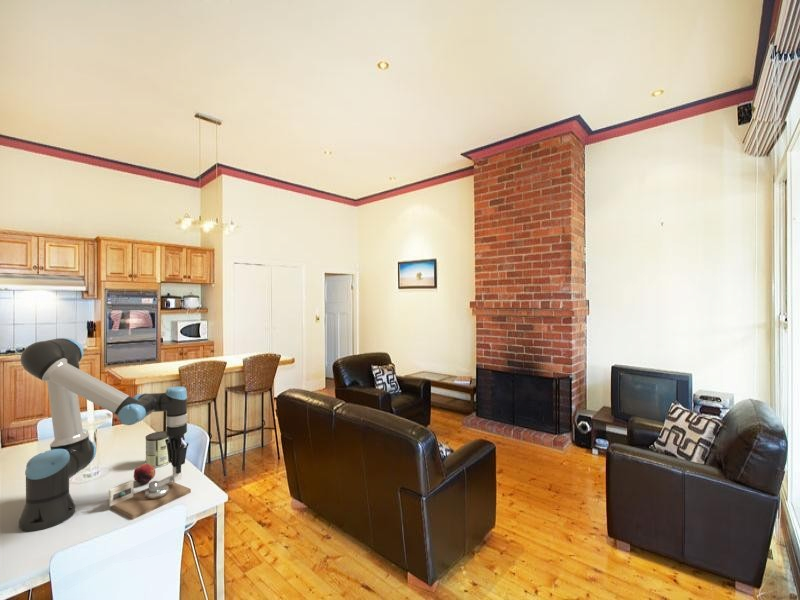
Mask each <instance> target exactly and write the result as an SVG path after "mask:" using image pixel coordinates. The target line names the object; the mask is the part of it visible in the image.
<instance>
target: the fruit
mask: <svg viewBox="0 0 800 600" xmlns="http://www.w3.org/2000/svg"><path fill="white" fill-rule="evenodd" d="M155 476H156V468H154V467H153V466H151V465H150V464H146V463H143V464H141V465H139V466H137V467H136V468H135V469H134V471H133V478H134V482H136V483H138V484H140V485H145V484H147V483H150V482H151V480H153V479H154V478H155Z"/></svg>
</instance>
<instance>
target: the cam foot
mask: <svg viewBox="0 0 800 600" xmlns="http://www.w3.org/2000/svg"><path fill="white" fill-rule="evenodd" d="M181 476H182V473H181ZM171 481H172V482H173V474H171V475H169V476H167V477H164V478H163V479H160V480H159V481H158V480H154V481H149V482H148V488H149V489H147V488H146V489H147V490H146V492H145V498H146V499H157V498H161V497H163V496H165V495H167V494H168V492H169V486H167V485H164V484H166V483H169V482H171Z"/></svg>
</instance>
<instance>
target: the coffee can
mask: <svg viewBox="0 0 800 600" xmlns="http://www.w3.org/2000/svg"><path fill="white" fill-rule="evenodd" d="M168 438H169V436H167V435H166V430H165V431H164V430H163V431H161V430H160V431H155V432H151V433H149V434H147V435H146V436H145V464H150V465H151V466H153V467H154V469H156V468H161V467H164V466H167V465H168V464H170V463H169V458H168V451H167V445H166V442H165V440H166V439H168Z"/></svg>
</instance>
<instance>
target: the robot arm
mask: <svg viewBox="0 0 800 600" xmlns="http://www.w3.org/2000/svg"><path fill="white" fill-rule="evenodd" d="M84 354H85V353H84V349H83V346H82V345H81V344H80V343H79V341H76V340H75V339H72V338H68V337H64V338H63V337H62V338H58V337H57V338H54V339H53V338H52V339H48V340H42V341H36V342H34V343H30V344H29V345H28V346H27V347H25V348H24V350H22V353H21V355H20V364H21V366H22V367H23V369H24V370H25V372H27V373H28V374H30V375H31V376H33V377H35V378H37V379H39V380H40V381H42V382H45V383H46V385H47V390H48V391H47V392H48V400H49V407H50V414H51V421H52V422H51V423H52V428H53V429H52V430H53V436H54V439H53V441H52V442H51V443H49V444H50V445H49V447H50V449H49V450H45V451H44V452H40V453H38V454H36V455H34V456H32V457H31V458H30V459H29V460H28V461H27V462H26V467H25V473H24V474H25V505H24V508H23V510H22V513H21V514H20V518H19V521H18V528H19V530H21V531H23V532H34V531H40V530H45V529H48V528H51V527H54V526H57V525H59V524H61V523H64V522H66V521H68V520H69V519H71V517H73V516H74V515H75V514H76V504H75V501H74V500H73V498H72V495H71V493H70V479H71V478H73V476H75V475H76V474H78V473H79V472H81V471H82V470H84V469H86V467H88V466H89V465H90V464H91V463H92V461H93V460H94V459H95V457H96V453H97V447H96V444H95V442H94V441H92V440H91V439H89V434H88V433H86V432H84V430H83V424H82V423H83V422H82V414H81V408H80V402H79V401H80V398H79V396H80V397H82V398H83V399H84V400H87V401H89V402H91V403H93V404H95V405H96V406H99V407H100V408H103V409H104V410H107V411H109V412H111V413H113V414H114V415H117V418H118V421H119V422H120V423H121V424H122V425H124V426H132V425H136V424H137V423H139V422H141V421H142V420H144V419H145V418H146V417H147V416H149V415H150V414H153V413H155V412H156V413H160V412H165V413H166V414H165V417H166V418H165V425H166V427H165V431H166V435H167V436H169V438H168V439H166V440H165V442H166V445H167V451H168V458H169V463H168V464H171V466H172V475H173V481H172V482H175V483H177V482H179V481H181V480H182V475H181V474H182V465H185V463H186V457H187V451H188V447H189V445H190V444H189V442H186V441H185V439H186V437H185V434H186V433H188V424H187V422H188V421H187V420H188V413H187V412H188V411H187V409H188V404H187V403H188V395H187V394H188V392H187V388H186V387H185V386H178V385H177V386H172V387H168V388H167V389H166V390H165V392H157V393H155V392H154V393H139V394H136V395H134V396H133V397H132V396H130V395H128V394H127V393H125V392H123V391H121V390H119V389H117V388H115V387H113V386H112V385H109V384H107V383H106V382H105V381H102V380H101V379H99V378H97V377H94V376H93V375H92V374H89V373H87V372H86V371H83V370H81V369H80V362H81V361H82V359H83V357H84Z"/></svg>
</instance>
